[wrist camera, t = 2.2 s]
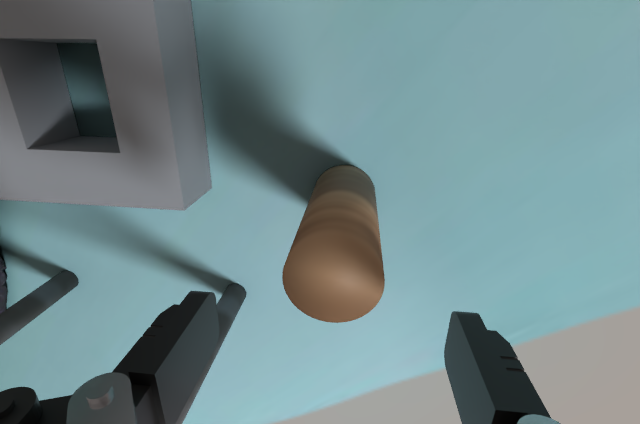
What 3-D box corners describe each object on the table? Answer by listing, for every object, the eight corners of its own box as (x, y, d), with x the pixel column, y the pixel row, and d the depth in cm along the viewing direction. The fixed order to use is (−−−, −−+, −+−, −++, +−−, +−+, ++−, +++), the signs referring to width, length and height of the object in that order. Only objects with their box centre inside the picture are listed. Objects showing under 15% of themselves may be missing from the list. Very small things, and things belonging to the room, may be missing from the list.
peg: (314, 163, 22) (281, 232, 13) (377, 166, 22) (389, 239, 13) (313, 220, 24) (283, 318, 14) (372, 224, 23) (379, 326, 14)
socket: (-11, -20, 20) (-94, -39, 16) (188, -21, 19) (146, -42, 15) (49, 179, 25) (-5, 199, 21) (212, 188, 24) (184, 210, 20)
